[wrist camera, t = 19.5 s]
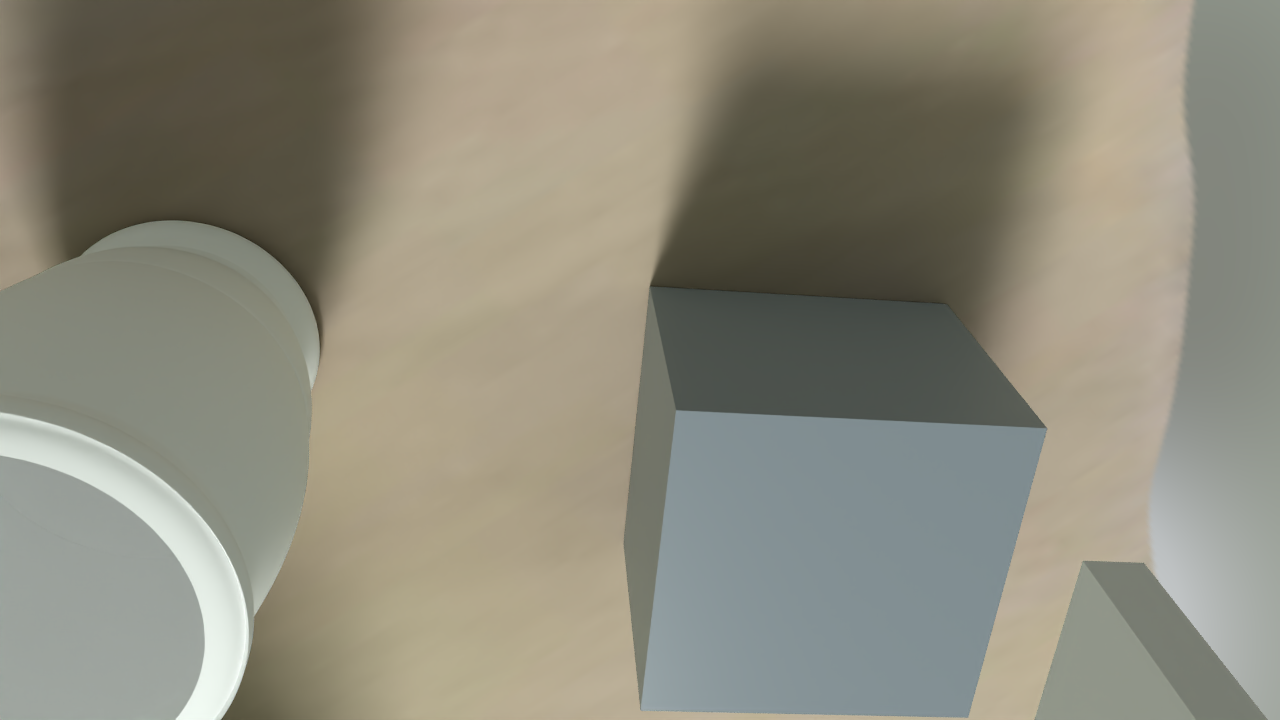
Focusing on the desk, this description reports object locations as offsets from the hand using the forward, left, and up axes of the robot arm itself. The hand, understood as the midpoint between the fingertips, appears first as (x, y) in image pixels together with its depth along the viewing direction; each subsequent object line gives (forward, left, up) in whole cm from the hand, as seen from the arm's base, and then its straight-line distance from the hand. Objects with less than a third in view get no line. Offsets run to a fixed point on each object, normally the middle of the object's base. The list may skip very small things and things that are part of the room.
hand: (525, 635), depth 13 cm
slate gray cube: (+10, +9, -25) cm, 28 cm away
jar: (+8, -11, -25) cm, 28 cm away
